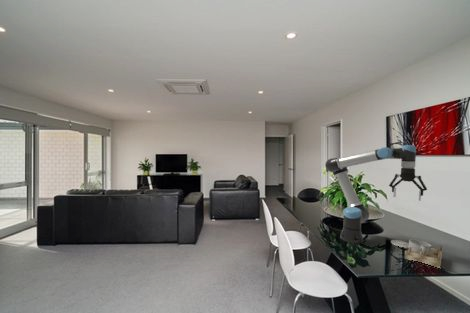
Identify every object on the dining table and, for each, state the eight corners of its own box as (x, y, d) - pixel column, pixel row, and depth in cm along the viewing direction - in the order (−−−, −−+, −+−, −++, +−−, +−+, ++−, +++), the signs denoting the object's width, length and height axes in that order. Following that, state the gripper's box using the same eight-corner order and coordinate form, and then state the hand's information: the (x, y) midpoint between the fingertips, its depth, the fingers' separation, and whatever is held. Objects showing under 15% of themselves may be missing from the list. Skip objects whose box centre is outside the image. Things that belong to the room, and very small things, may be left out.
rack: (404, 258, 133) (405, 246, 133) (409, 249, 146) (409, 238, 146) (440, 269, 122) (440, 255, 121) (441, 258, 135) (442, 245, 135)
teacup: (408, 249, 144) (409, 237, 144) (430, 254, 137) (430, 241, 137) (408, 256, 133) (409, 243, 133) (432, 262, 126) (432, 249, 126)
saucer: (389, 244, 155) (389, 242, 155) (392, 240, 163) (392, 237, 163) (410, 250, 146) (410, 247, 146) (412, 245, 154) (412, 242, 154)
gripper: (384, 166, 153) (383, 196, 153) (432, 169, 135) (430, 202, 135) (387, 166, 158) (386, 195, 158) (433, 169, 140) (431, 201, 140)
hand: (406, 198), depth 147 cm, fingers open, 13 cm apart
